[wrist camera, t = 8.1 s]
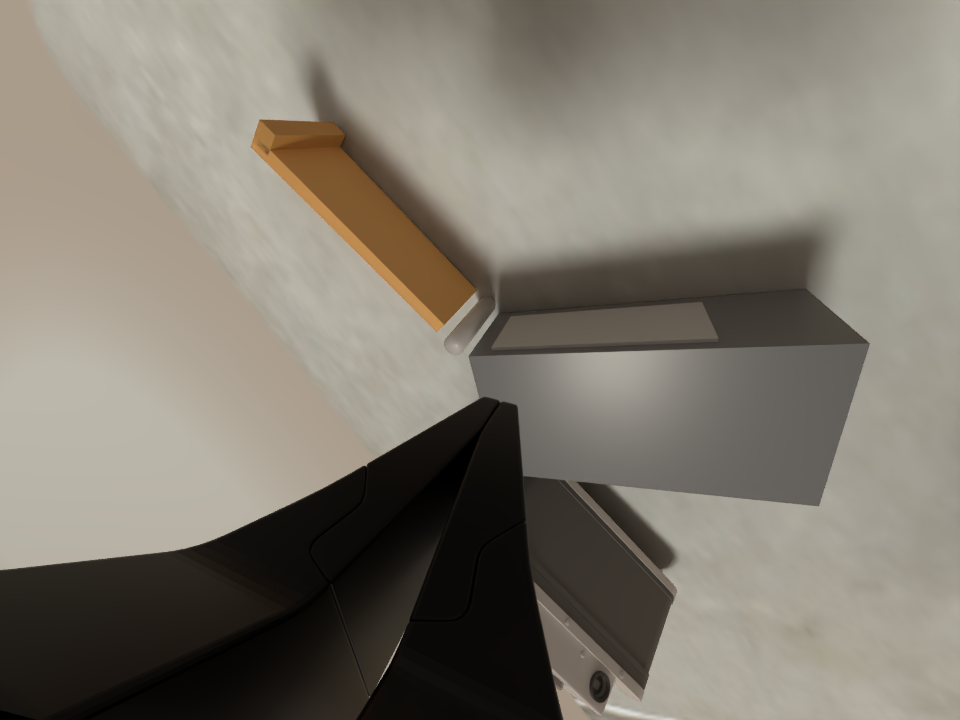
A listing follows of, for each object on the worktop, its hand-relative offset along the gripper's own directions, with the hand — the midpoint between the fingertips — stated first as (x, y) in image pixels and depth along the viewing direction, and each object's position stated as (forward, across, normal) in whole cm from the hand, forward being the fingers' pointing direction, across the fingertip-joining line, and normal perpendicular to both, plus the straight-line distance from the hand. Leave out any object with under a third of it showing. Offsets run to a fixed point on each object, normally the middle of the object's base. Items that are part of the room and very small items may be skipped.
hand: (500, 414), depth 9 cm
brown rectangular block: (+12, +9, -2) cm, 15 cm away
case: (+12, -4, +5) cm, 14 cm away
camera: (+13, -2, +20) cm, 24 cm away
